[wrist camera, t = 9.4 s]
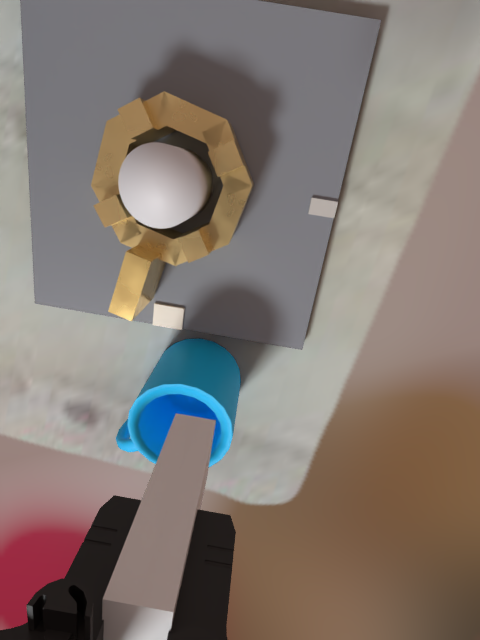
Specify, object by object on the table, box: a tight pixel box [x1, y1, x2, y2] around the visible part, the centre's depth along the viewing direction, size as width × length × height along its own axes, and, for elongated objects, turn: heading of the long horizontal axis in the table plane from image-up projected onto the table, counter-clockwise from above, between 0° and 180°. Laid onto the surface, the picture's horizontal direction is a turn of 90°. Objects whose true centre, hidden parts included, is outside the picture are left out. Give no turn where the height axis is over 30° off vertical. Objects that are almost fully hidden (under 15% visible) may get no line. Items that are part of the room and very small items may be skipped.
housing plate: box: [20, 0, 381, 350], centre depth 27 cm, size 24×24×8 cm
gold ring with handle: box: [91, 91, 254, 321], centre depth 27 cm, size 15×10×6 cm
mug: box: [116, 338, 241, 467], centre depth 34 cm, size 12×8×8 cm
